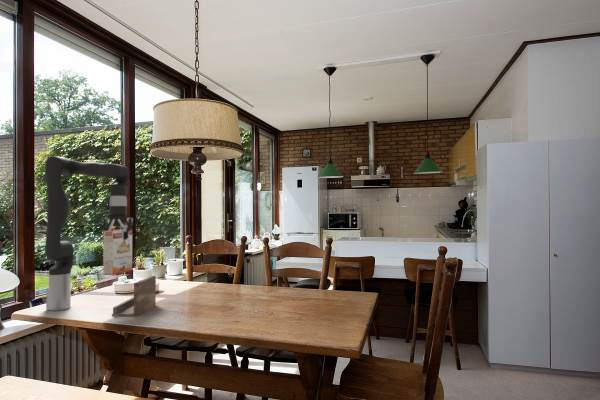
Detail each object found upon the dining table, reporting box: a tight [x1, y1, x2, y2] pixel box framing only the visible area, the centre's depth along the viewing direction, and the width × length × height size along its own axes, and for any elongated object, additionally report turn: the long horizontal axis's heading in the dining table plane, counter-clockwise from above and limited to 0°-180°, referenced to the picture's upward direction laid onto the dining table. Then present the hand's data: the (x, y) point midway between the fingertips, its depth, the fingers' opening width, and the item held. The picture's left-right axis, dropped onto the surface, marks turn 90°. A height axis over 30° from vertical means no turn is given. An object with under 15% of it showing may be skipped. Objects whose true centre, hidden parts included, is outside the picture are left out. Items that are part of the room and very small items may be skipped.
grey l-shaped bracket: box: [111, 275, 157, 317], centre depth 180 cm, size 12×20×15 cm, turn 179°
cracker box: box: [102, 229, 133, 276], centre depth 180 cm, size 14×6×21 cm, turn 168°
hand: (118, 239), depth 180 cm, fingers closed on cracker box, 6 cm apart
